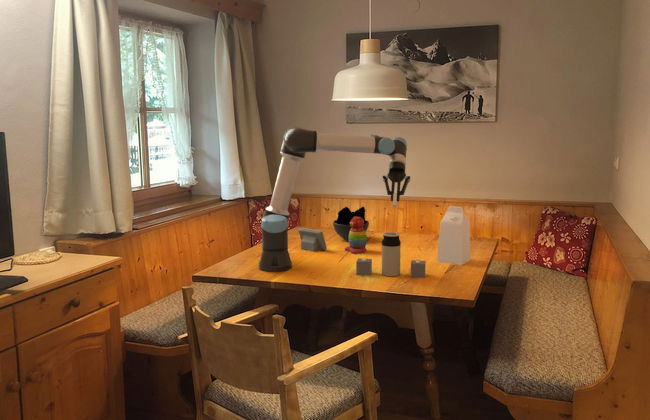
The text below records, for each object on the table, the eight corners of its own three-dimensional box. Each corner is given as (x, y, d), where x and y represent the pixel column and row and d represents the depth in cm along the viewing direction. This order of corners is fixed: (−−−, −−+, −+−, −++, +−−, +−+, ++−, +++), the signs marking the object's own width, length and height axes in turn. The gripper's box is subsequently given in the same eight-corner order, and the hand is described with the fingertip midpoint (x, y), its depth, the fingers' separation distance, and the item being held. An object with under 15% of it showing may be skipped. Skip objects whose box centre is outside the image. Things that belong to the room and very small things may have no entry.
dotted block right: (424, 277, 249) (425, 263, 248) (410, 277, 250) (410, 263, 249) (425, 274, 255) (425, 260, 254) (411, 273, 256) (411, 259, 255)
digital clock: (328, 250, 301) (328, 230, 299) (314, 253, 296) (314, 232, 294) (309, 245, 314) (309, 225, 312) (295, 247, 308) (295, 227, 306)
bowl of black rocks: (327, 241, 322) (327, 207, 319) (340, 235, 340) (340, 202, 337) (361, 244, 314) (362, 210, 311) (373, 237, 332) (373, 204, 330)
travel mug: (390, 277, 249) (390, 236, 246) (377, 273, 256) (378, 233, 253) (403, 274, 254) (404, 234, 251) (391, 271, 260) (391, 231, 257)
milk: (470, 260, 279) (472, 206, 275) (461, 265, 270) (463, 209, 266) (446, 256, 286) (448, 204, 282) (437, 261, 276) (438, 207, 272)
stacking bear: (343, 250, 302) (343, 216, 299) (360, 248, 306) (360, 214, 304) (353, 254, 292) (353, 219, 290) (371, 252, 297) (371, 217, 294)
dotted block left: (370, 275, 253) (370, 261, 252) (356, 275, 254) (356, 261, 253) (371, 272, 259) (371, 258, 258) (358, 271, 260) (358, 257, 259)
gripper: (411, 171, 276) (409, 211, 262) (383, 170, 278) (380, 211, 265) (411, 160, 270) (409, 201, 256) (382, 160, 272) (379, 201, 259)
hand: (394, 206), depth 260 cm, fingers closed
